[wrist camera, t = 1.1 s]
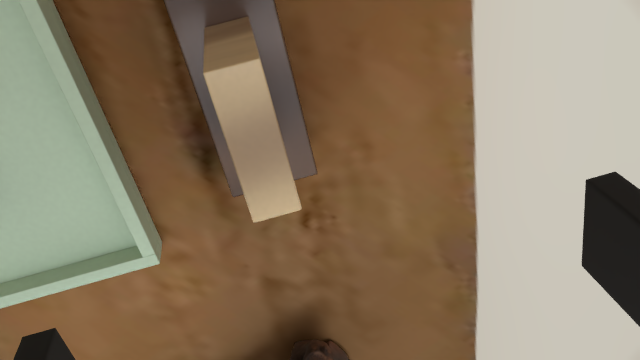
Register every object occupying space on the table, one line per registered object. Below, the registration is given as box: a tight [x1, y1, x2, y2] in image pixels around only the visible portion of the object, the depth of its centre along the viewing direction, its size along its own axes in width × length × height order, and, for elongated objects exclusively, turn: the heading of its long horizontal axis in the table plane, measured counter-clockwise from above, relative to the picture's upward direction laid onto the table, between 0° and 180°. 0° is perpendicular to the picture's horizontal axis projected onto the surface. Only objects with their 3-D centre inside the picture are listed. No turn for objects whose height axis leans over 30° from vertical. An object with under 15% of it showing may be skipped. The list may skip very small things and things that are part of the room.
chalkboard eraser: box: [164, 0, 317, 223], centre depth 27 cm, size 12×5×10 cm, turn 12°
